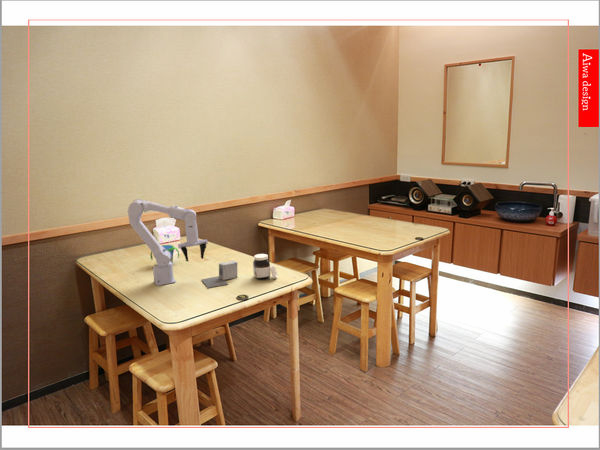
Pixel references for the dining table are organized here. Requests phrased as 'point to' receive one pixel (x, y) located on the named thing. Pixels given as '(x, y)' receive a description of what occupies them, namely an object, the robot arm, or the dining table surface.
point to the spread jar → (263, 267)
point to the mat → (214, 282)
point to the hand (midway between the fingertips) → (194, 259)
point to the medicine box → (227, 270)
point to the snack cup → (170, 249)
